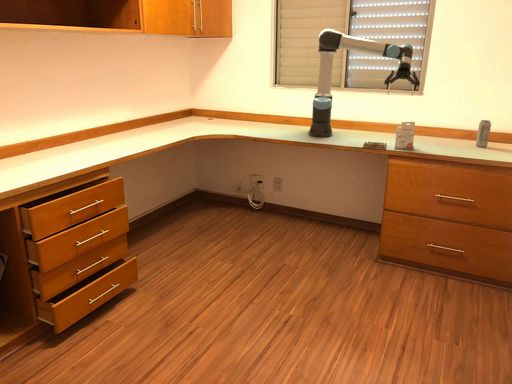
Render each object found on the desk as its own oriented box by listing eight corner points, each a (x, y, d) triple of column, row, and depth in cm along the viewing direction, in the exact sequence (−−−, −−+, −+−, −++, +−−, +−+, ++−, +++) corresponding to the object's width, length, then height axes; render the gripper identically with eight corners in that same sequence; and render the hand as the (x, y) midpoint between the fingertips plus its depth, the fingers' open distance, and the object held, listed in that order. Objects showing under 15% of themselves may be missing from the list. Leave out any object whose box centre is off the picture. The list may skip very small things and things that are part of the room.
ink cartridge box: (408, 145, 245) (411, 120, 240) (412, 147, 240) (416, 121, 236) (394, 146, 243) (397, 120, 239) (398, 148, 239) (401, 122, 234)
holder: (362, 147, 242) (363, 143, 241) (365, 143, 254) (365, 139, 253) (385, 149, 238) (385, 144, 237) (386, 144, 250) (386, 140, 249)
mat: (394, 149, 238) (394, 148, 238) (395, 145, 249) (395, 144, 249) (413, 150, 235) (413, 150, 235) (413, 146, 246) (413, 145, 246)
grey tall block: (485, 145, 248) (490, 120, 243) (488, 148, 242) (492, 121, 238) (474, 145, 249) (478, 119, 245) (476, 147, 244) (481, 121, 239)
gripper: (425, 71, 260) (421, 98, 252) (383, 69, 268) (378, 96, 260) (426, 62, 254) (423, 90, 245) (383, 61, 262) (378, 88, 253)
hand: (400, 93), depth 253 cm, fingers open, 13 cm apart
